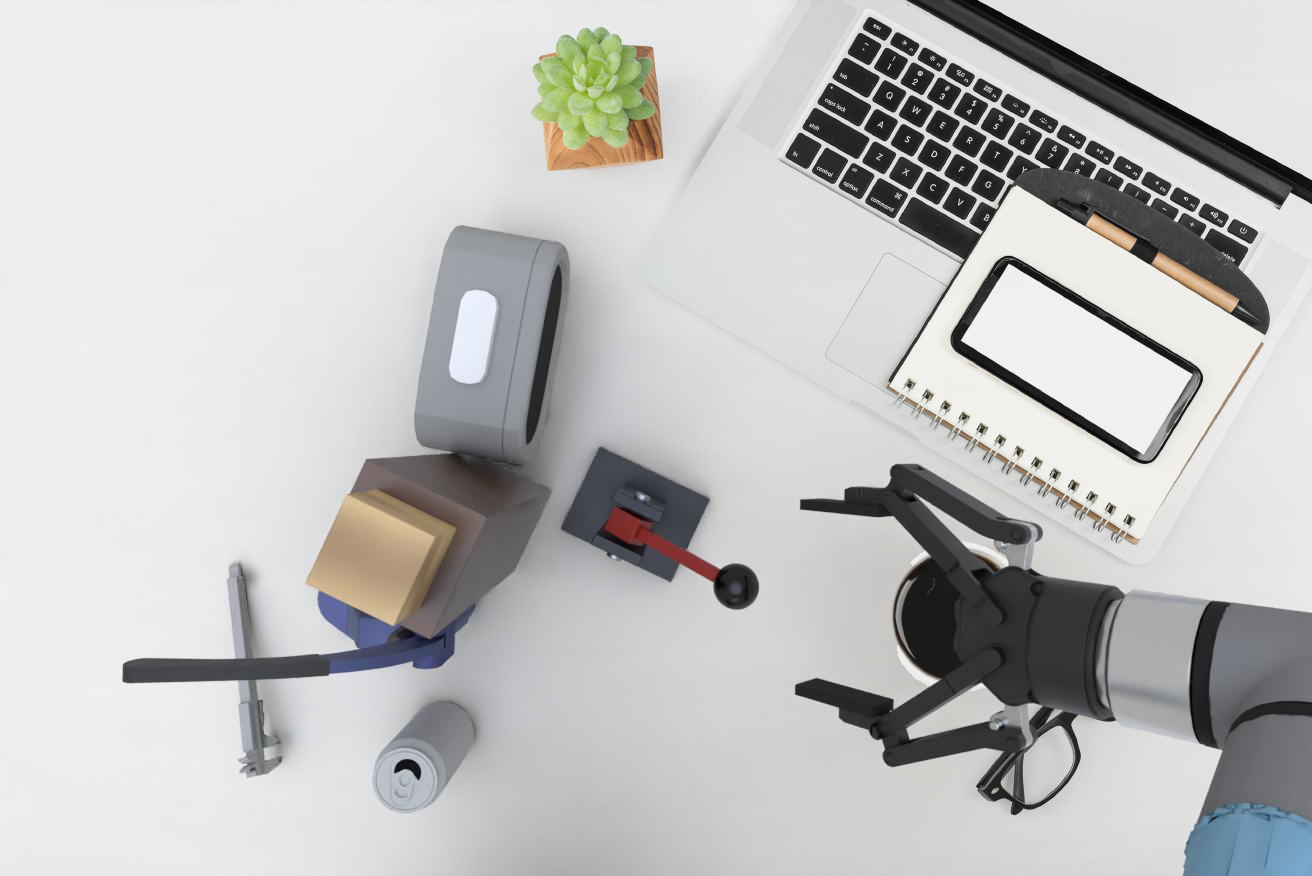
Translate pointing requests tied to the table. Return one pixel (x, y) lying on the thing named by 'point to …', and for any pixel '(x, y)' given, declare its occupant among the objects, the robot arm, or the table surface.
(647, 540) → the clamp lever
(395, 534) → the jaw block
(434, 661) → the clamp
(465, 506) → the dark brown block
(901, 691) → the table surface
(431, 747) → the beverage can
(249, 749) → the caliper
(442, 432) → the alarm clock
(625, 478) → the toggle clamp
